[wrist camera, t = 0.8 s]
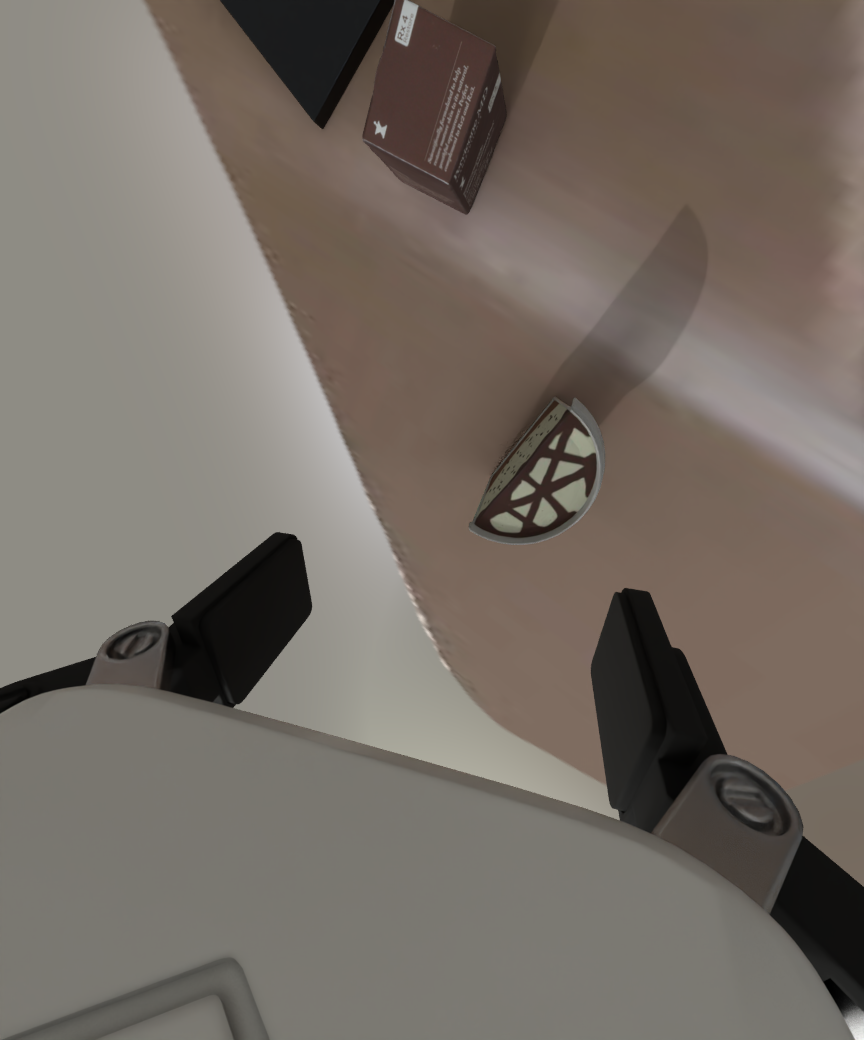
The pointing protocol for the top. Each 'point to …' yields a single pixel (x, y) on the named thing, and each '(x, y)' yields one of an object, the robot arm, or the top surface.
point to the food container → (544, 478)
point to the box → (435, 105)
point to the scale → (312, 43)
